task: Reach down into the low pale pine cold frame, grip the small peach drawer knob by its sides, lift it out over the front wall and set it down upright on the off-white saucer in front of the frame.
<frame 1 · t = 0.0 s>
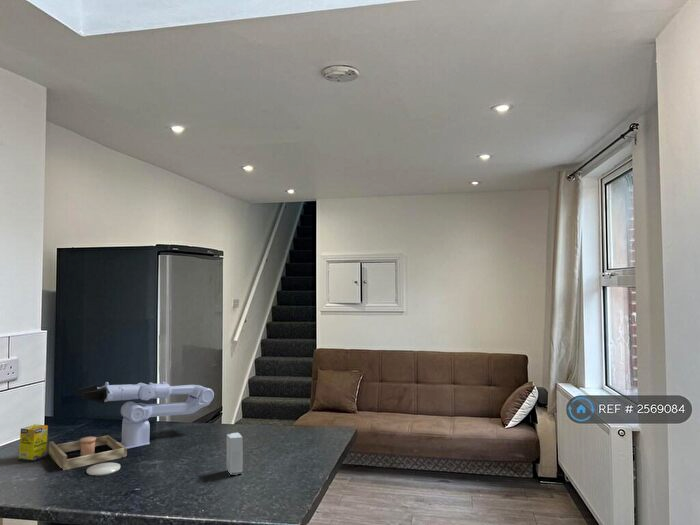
hand: (79, 394, 174), 22 cm above the kitchen counter, tool horizontal, fingers open, 7 cm apart
cold frame: (87, 455, 174), on the kitchen counter
saucer: (103, 469, 161), on the kitchen counter
supplement box: (32, 459, 170), on the kitchen counter
skincare box: (233, 473, 160), on the kitchen counter
peach drawer knob: (87, 447, 174), in the cold frame
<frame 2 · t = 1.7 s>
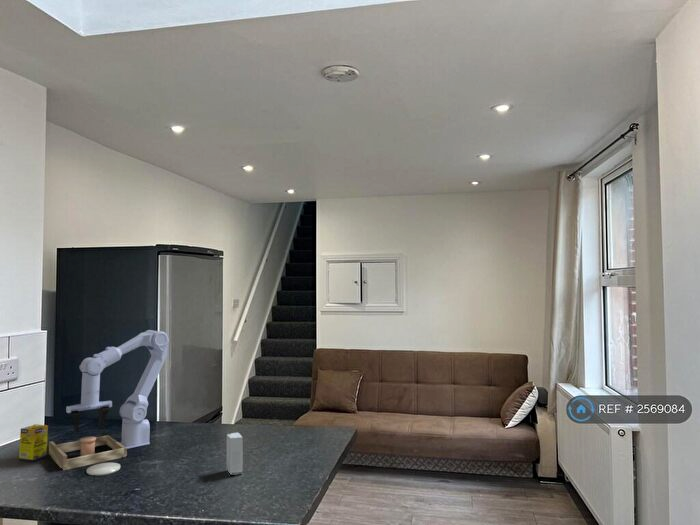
hand: (88, 430, 174), 9 cm above the kitchen counter, tool pointing down, fingers open, 7 cm apart
nothing on the kitchen counter moved.
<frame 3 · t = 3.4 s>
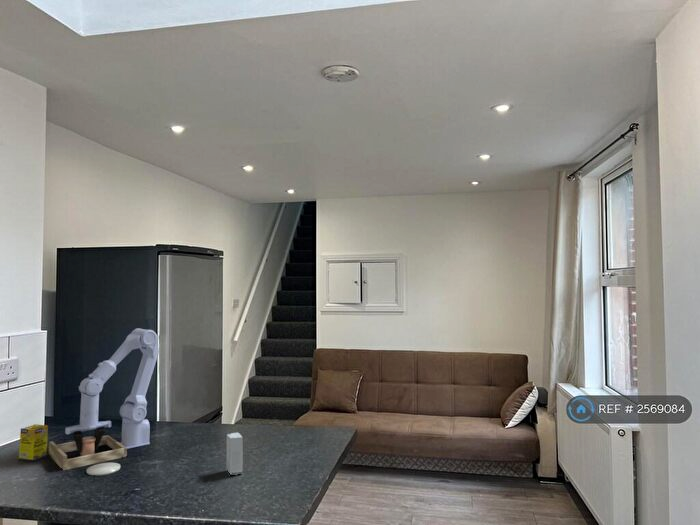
hand: (87, 450, 174), 2 cm above the kitchen counter, tool pointing down, fingers closed on peach drawer knob, 5 cm apart
peach drawer knob: (87, 447, 174), in the cold frame, touching gripper
everything else where it was.
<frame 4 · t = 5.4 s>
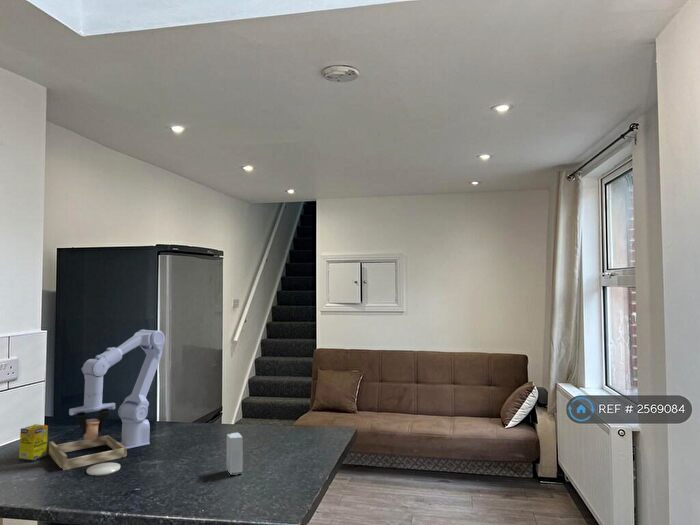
hand: (91, 432, 171), 9 cm above the kitchen counter, tool pointing down, fingers closed on peach drawer knob, 5 cm apart
peach drawer knob: (91, 429, 172), point 10 cm above the kitchen counter, touching gripper
everything else where it was.
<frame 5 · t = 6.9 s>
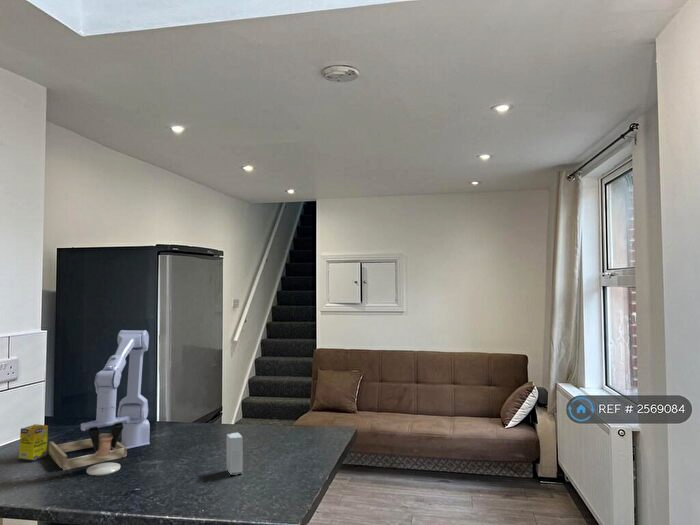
hand: (104, 448, 161), 7 cm above the kitchen counter, tool pointing down, fingers closed on peach drawer knob, 5 cm apart
peach drawer knob: (103, 444, 162), point 8 cm above the kitchen counter, tilted 8°, touching gripper
everything else where it was.
when the fingers open (4 cm above the kitchen counter, at t = 7.9 s): peach drawer knob drops 1 cm, resting on saucer.
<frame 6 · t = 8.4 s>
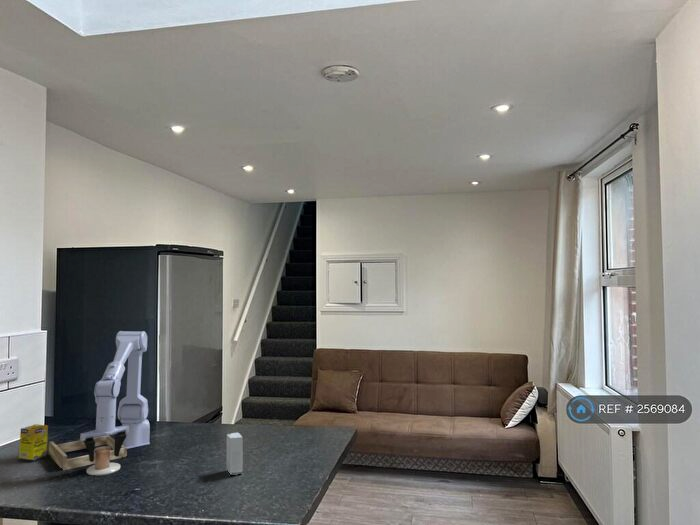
hand: (104, 458, 161), 4 cm above the kitchen counter, tool pointing down, fingers open, 7 cm apart
peach drawer knob: (102, 457, 161), on the saucer, point 4 cm above the kitchen counter
everything else where it was.
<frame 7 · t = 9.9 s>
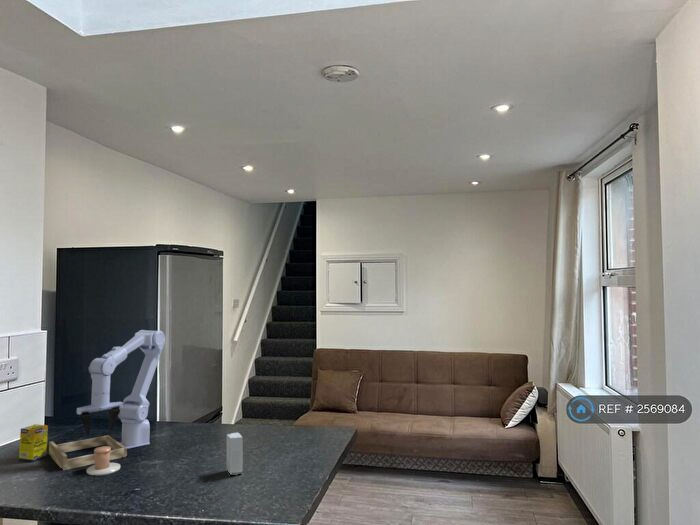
hand: (99, 431, 171), 9 cm above the kitchen counter, tool pointing down, fingers open, 7 cm apart
nothing on the kitchen counter moved.
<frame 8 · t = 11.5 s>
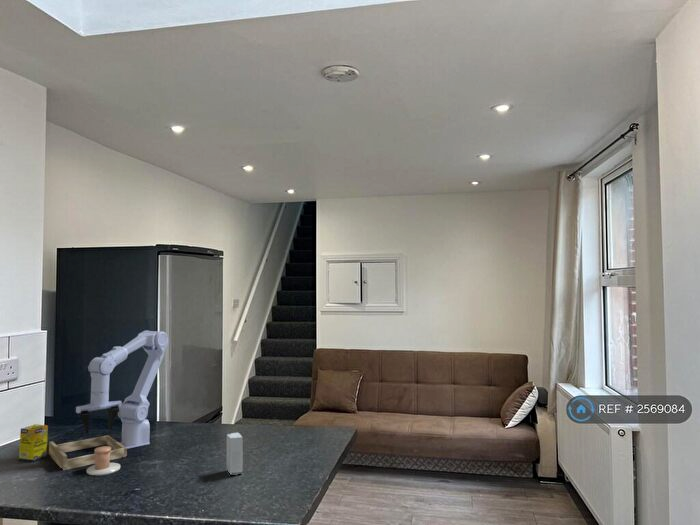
hand: (98, 430, 173), 9 cm above the kitchen counter, tool pointing down, fingers open, 7 cm apart
nothing on the kitchen counter moved.
at the end: peach drawer knob inside the target area (1.1 cm from its centre), point 3.6 cm above the kitchen counter; peach drawer knob tilted 0°; peach drawer knob touching saucer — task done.
